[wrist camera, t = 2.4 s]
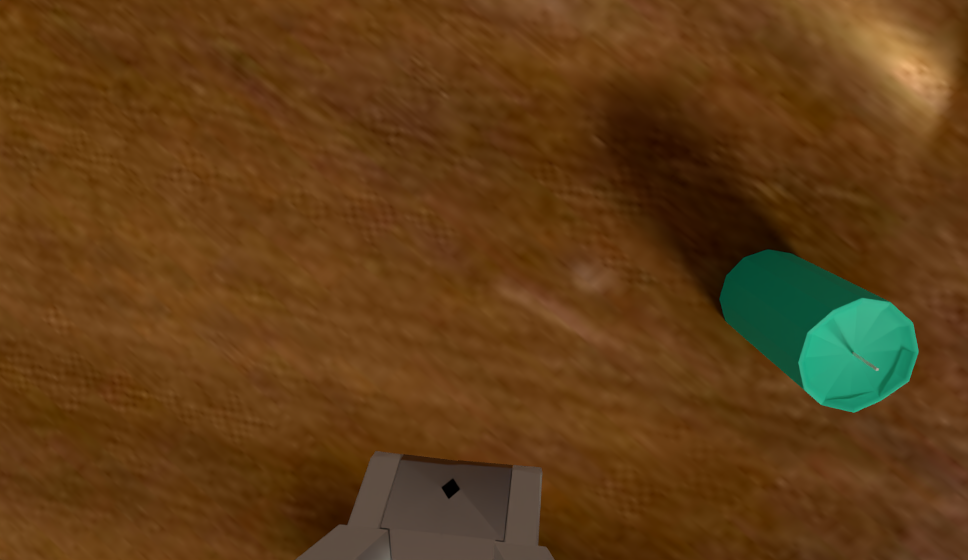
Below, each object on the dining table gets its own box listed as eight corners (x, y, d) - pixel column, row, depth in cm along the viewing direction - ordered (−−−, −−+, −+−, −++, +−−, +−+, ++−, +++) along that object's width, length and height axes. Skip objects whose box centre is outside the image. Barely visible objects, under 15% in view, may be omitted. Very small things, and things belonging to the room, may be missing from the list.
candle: (702, 283, 43) (791, 354, 31) (786, 230, 42) (908, 283, 31) (747, 356, 44) (847, 450, 33) (829, 306, 44) (961, 383, 32)
